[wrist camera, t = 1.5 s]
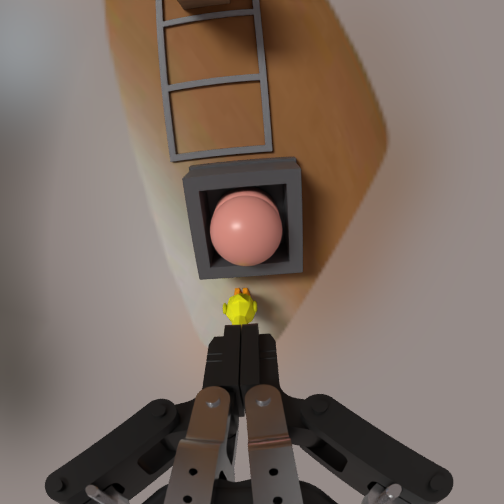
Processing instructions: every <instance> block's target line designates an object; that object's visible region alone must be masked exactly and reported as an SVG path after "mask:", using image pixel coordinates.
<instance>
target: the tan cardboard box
mask: <svg viewBox="0 0 504 504" xmlns="http://www.w3.org/2000/svg"><path fill="white" fill-rule="evenodd" d="M177 1H178V2H179V3H180V5H181V6H182V8H183V9H184V10H187V9H192V8H198V7H205V6H212V5H220V4H229V3H230V0H177Z"/></svg>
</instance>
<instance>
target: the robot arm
mask: <svg viewBox="0 0 504 504" xmlns="http://www.w3.org/2000/svg"><path fill="white" fill-rule="evenodd" d="M245 413H246V419H247V430H248V452H249V463H250V474H251V479H250V480H245V481H241V482H235V473H234V465H235V457H236V449H237V440H238V425H239V417H244V415H245ZM292 444H294V445H299V446H300V447H301V448H302V449H303V450H304V451H305V452H306V453H308V454H309V455H310V456H311V457H313V458H314V459H315V460H316V461H318V462H319V463H320V464H321V465H323V466H324V467H325V468H327V469H328V470H329V471H331V472H332V473H333V474H335V475H336V476H337V477H339V478H340V479H341V480H343V481H344V482H345V483H347V484H348V485H349V486H351V487H352V488H354V489H355V490H357V491H358V492H359V493H361V494H362V495H364V496H365V497H364V498H363V500H362V504H436V503H438V502H439V501H441V500H442V499H444V498H445V497H447V496H448V494H449V493H450V492H451V490H452V487H453V477H452V475H451V473H449V471H448V470H446V469H445V468H442V467H441V466H439V465H437V464H435V463H434V462H432V461H430V460H429V459H427V458H425V457H423V456H422V455H420V454H418V453H417V452H415V451H413V450H412V449H410V448H408V447H407V446H405V445H403V444H402V443H400V442H399V441H397V440H395V439H394V438H392V437H390V436H389V435H387V434H385V433H384V432H382V431H381V430H379V429H378V428H376V427H375V426H373V425H372V424H370V423H369V422H367V421H366V420H364V419H362V418H361V417H360V416H358V415H357V414H355V413H354V412H352V411H350V410H349V409H347V408H346V407H345V406H343V405H342V404H340V403H339V402H338V401H336V400H335V399H333V398H332V397H330V396H327V395H324V394H316V395H312V396H309V397H308V398H306V399H305V400H304V399H297V398H293V397H290V396H288V395H287V394H285V393H284V392H283V391H282V389H281V388H280V384H279V374H278V363H277V353H276V342H275V340H274V338H273V337H272V336H271V334H259V329H258V323H255V324H242V327H241V324H240V325H225V329H224V336H221V337H214V338H213V340H212V341H211V342H210V344H209V347H208V355H207V362H206V367H205V374H204V381H203V388H202V390H201V391H200V392H199V393H198V394H197V396H196V398H194V399H193V400H191V401H188V402H185V403H181V404H176V405H174V403H172V402H171V401H169V400H167V399H157V400H154V401H151V402H150V403H149V404H147V405H146V406H145V407H143V408H142V409H141V410H139V411H138V412H137V413H136V414H134V415H133V416H132V417H130V418H129V419H128V420H126V421H125V422H124V423H122V424H121V425H120V426H118V427H117V428H116V429H114V430H113V431H112V432H110V433H109V434H108V435H106V436H105V437H103V438H102V439H100V440H99V441H98V442H96V443H95V444H94V445H92V446H91V447H90V448H88V449H86V450H85V451H84V452H82V453H81V454H79V455H78V456H77V457H75V458H74V459H72V460H71V461H69V462H68V463H66V464H65V465H63V466H62V467H60V468H59V469H58V470H56V471H54V472H53V473H51V474H50V475H49V476H48V477H47V479H46V482H45V489H46V492H47V494H48V496H49V497H50V498H51V499H53V500H55V501H56V502H58V503H60V504H129V500H130V499H132V498H133V497H134V496H136V495H137V494H138V493H139V492H141V491H142V490H143V489H145V488H146V487H147V486H148V485H150V484H151V483H152V482H153V481H155V480H156V479H157V478H158V477H159V476H161V475H162V474H163V473H164V472H166V471H167V470H168V469H169V468H170V467H172V466H173V467H172V471H171V476H170V480H169V484H167V485H165V486H163V487H162V488H160V489H159V490H157V491H156V492H155V493H154V494H153V495H152V496H150V497H149V498H148V499H147V500H146V501H145V502H143V503H142V504H338V503H336V502H335V501H334V500H332V499H331V498H330V497H329V496H328V495H326V494H325V493H324V492H323V491H321V489H319V488H317V487H316V486H314V485H312V484H310V483H306V482H304V481H299V479H298V474H297V469H296V463H295V459H294V453H293V448H292Z"/></svg>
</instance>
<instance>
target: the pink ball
mask: <svg viewBox="0 0 504 504" xmlns="http://www.w3.org/2000/svg"><path fill="white" fill-rule="evenodd" d="M210 236H211V240H212V243H213V245H214V247H215V249H216V251H217V252H218V253H219V254H220V255H221V257H223V258H224V259H225V260H227V261H228V262H230V263H232V264H235V265H239V266H253V265H257V264H260V263H262V262H264V261H266V260H267V259H268V258H270V257H271V256H272V255H273V254H274V252H275V251H276V249H277V248H278V246H279V244H280V241H281V237H282V223H281V219H280V215H279V211H278V208H277V205H276V203H275V201H274V200H273V199H272V197H271V196H270V195H269V194H267V193H266V192H265V191H263V190H261V189H259V188H256V187H250V186H246V187H238V188H234V189H232V190H230V191H228V192H227V193H226V194H224V195H223V196H222V197H221V199H220V200H219V201H218V203H217V205H216V208H215V211H214V214H213V217H212V220H211V225H210Z"/></svg>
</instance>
